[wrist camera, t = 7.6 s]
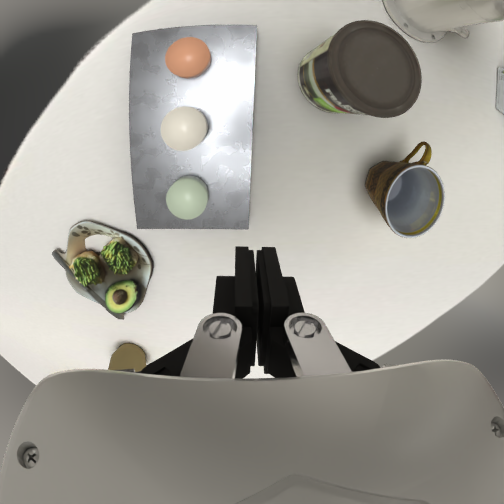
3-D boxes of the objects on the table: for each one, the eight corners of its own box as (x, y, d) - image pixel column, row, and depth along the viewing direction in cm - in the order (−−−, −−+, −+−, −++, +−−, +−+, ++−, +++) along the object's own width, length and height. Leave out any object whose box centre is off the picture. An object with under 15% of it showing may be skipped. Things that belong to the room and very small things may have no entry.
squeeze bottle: (108, 343, 53) (83, 409, 37) (135, 335, 52) (111, 408, 36) (130, 366, 57) (111, 431, 41) (157, 359, 56) (141, 430, 40)
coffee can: (354, 124, 35) (407, 134, 23) (288, 98, 34) (315, 91, 21) (374, 64, 31) (430, 53, 19) (309, 35, 29) (344, 3, 17)
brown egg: (214, 45, 29) (210, 35, 25) (212, 80, 32) (208, 75, 27) (175, 47, 29) (166, 39, 24) (174, 82, 32) (164, 78, 27)
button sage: (210, 170, 38) (206, 179, 33) (210, 205, 40) (207, 219, 36) (174, 171, 38) (164, 180, 33) (175, 205, 40) (167, 219, 35)
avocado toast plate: (54, 280, 46) (43, 294, 42) (63, 201, 39) (49, 211, 35) (137, 319, 51) (131, 336, 47) (162, 245, 44) (155, 259, 39)
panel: (255, 31, 29) (257, 25, 26) (247, 221, 42) (248, 229, 39) (139, 38, 28) (132, 33, 25) (143, 220, 41) (137, 228, 38)
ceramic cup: (397, 217, 43) (429, 243, 34) (347, 204, 41) (374, 231, 32) (420, 144, 37) (459, 157, 28) (369, 124, 35) (404, 130, 27)
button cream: (210, 106, 32) (206, 105, 28) (209, 145, 35) (205, 150, 30) (171, 108, 32) (160, 108, 27) (171, 146, 35) (160, 151, 30)
